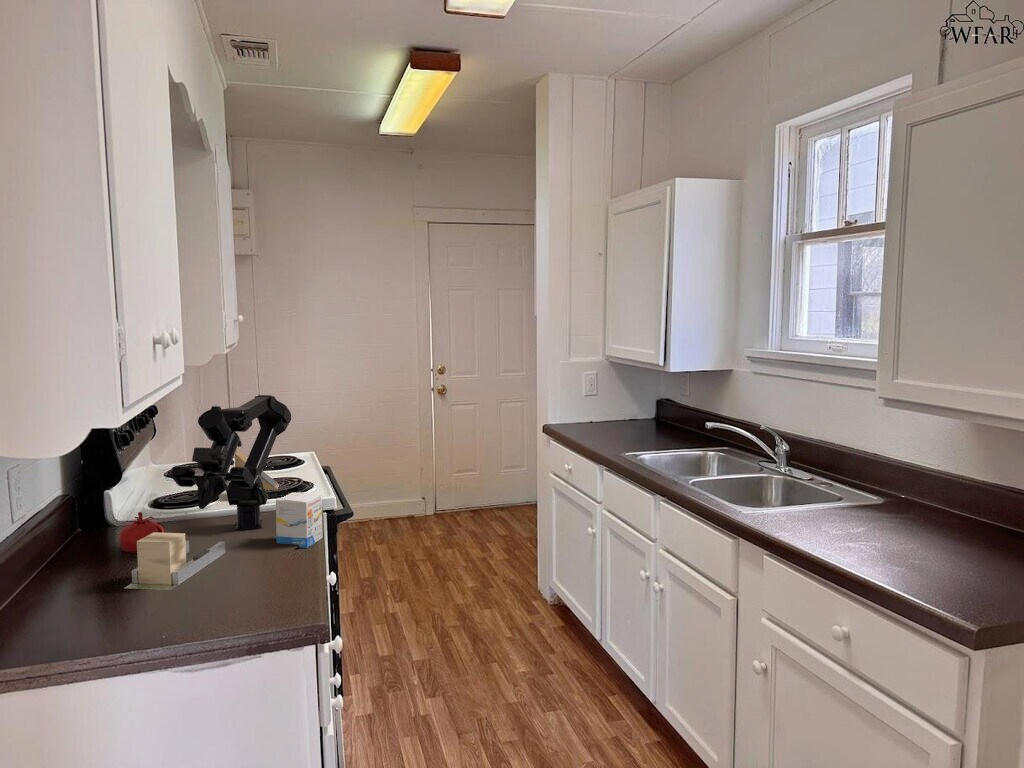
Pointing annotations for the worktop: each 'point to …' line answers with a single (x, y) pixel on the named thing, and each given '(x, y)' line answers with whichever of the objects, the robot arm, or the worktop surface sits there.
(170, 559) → the block
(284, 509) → the ink box
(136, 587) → the chute
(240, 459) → the sandwich container
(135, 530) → the pomegranate
